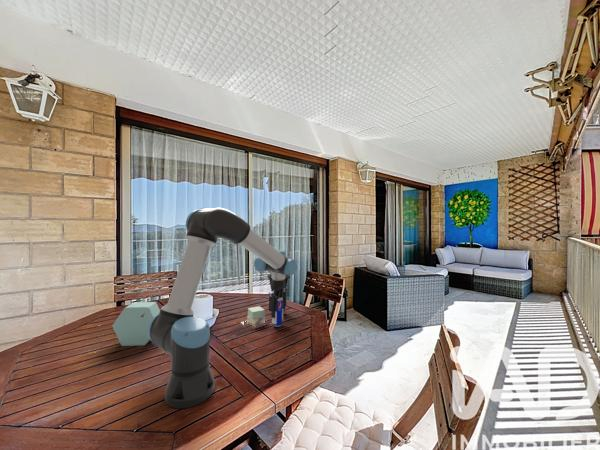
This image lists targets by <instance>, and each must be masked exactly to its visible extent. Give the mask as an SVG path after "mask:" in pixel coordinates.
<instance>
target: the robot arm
mask: <svg viewBox="0 0 600 450" xmlns="http://www.w3.org/2000/svg"><path fill="white" fill-rule="evenodd" d="M185 227H186V231H187V233H186V236H185V238H186V239H187V241H188V242H187V245H186V249H185V251H184V254H183V258H182V259H181V262H180V265H179V268H178V272H177V274H176V276H175V277H176V278H175V280H174V283H173V285H172V289H171V293H170V295H169V297H168V301H167V303H166V304H165V305H163V306H162V307H161V308H160V313H159V314H157V316H156V317H154V318H153V319H152V320H151V322H150V324H149V327H148V336H149V339H150V341H151V343H152V344H153V346H155V347H157V348H158V349H160V350H162V351H163V352H165V353H166V354H168V355H169V356H170V357H171V358H170V359H171V360H170V362H171V363H170V364H171V367H170V370H171V371H170V376H169V378H168V381H167V385H166V388H165V390H164V401H165V403H166V405H168V407H171V408H175V409H188V408H192V407H195V406H198V405H200V404H202V403H205V401H207V400H208V399H209V398H210V397H211V396H212V395H213V393H214V392H215V377H214V376H213V373H212V370H211V367H210V344H211V343H210V337H211V331H210V330H211V329H210V323H209V322H208V321H207V319H205V318H202V317H199V316H196V317H195V316H194V314H195V313H194V310H193V308H192V307H193V304H194V301H195V297H196V295H197V292H198V288H199V285H200V282H201V279H202V275H203V273H204V270H205V266H206V262H207V260H208V256H209V254H210V251H211V248H212V247H214V246H216V244H217V241H218V239H223V240H227V241H229V242H230V243H232V244H234V245H240V246H241V247H243V248H244V249H246V250H247V251H248V252H250V253H251V254H253V255H254V256H255V257H256V258H255V259H254V261H253V267H254V270H256V272H259V273H260V272H271V274H272V277H271V278H272V282H271V286H272V287H273V290H272V292H268V311H269V312H271V315H270V316H271V324H272V325H273V324H277V312H276V307H277V299H279V297H282V298H283V312H282V322H283V321H284V315H283V313H284V309H285V310H286V307H287V293H288V288H287V287H286V288H284V287H285V275H290V276H293V275H294V274H296V272H297V269H298V263H297V261H296V260H295V259H293V258H287V253H286V251H285V250H280V249H279V250H278V249H276V248H275V247H274V246H272V245H271V244H270V243H269V242H267V241H266V240H265V239H263V238H262V237H261V236H260V235H259V234H258V233H256V232H255V231H254V230H253V229H252V228H251V225H250V224H249V223H248V222H247V221H246V220H245V219H243V218H241V216H239V215H237V214H236V213H235V212H232V211H231V210H229V209H226V208H223V207H214V208H213V207H207V208H206V207H201V208H198V209H194V210H192V211H191V212H190V213H189V215H187V218H186V219H185ZM271 286H270V287H271Z"/></svg>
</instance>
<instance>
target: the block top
mask: <svg viewBox="0 0 600 450" xmlns="http://www.w3.org/2000/svg"><path fill="white" fill-rule="evenodd" d="M265 311H266V310H265V309H264V308H263V307H261V306H254V307H253V306H252V307H248V308H247V316H249V317H250V318H251V319H252V320H253V319H258V318H263V317H265V318H266V316H265Z"/></svg>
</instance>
